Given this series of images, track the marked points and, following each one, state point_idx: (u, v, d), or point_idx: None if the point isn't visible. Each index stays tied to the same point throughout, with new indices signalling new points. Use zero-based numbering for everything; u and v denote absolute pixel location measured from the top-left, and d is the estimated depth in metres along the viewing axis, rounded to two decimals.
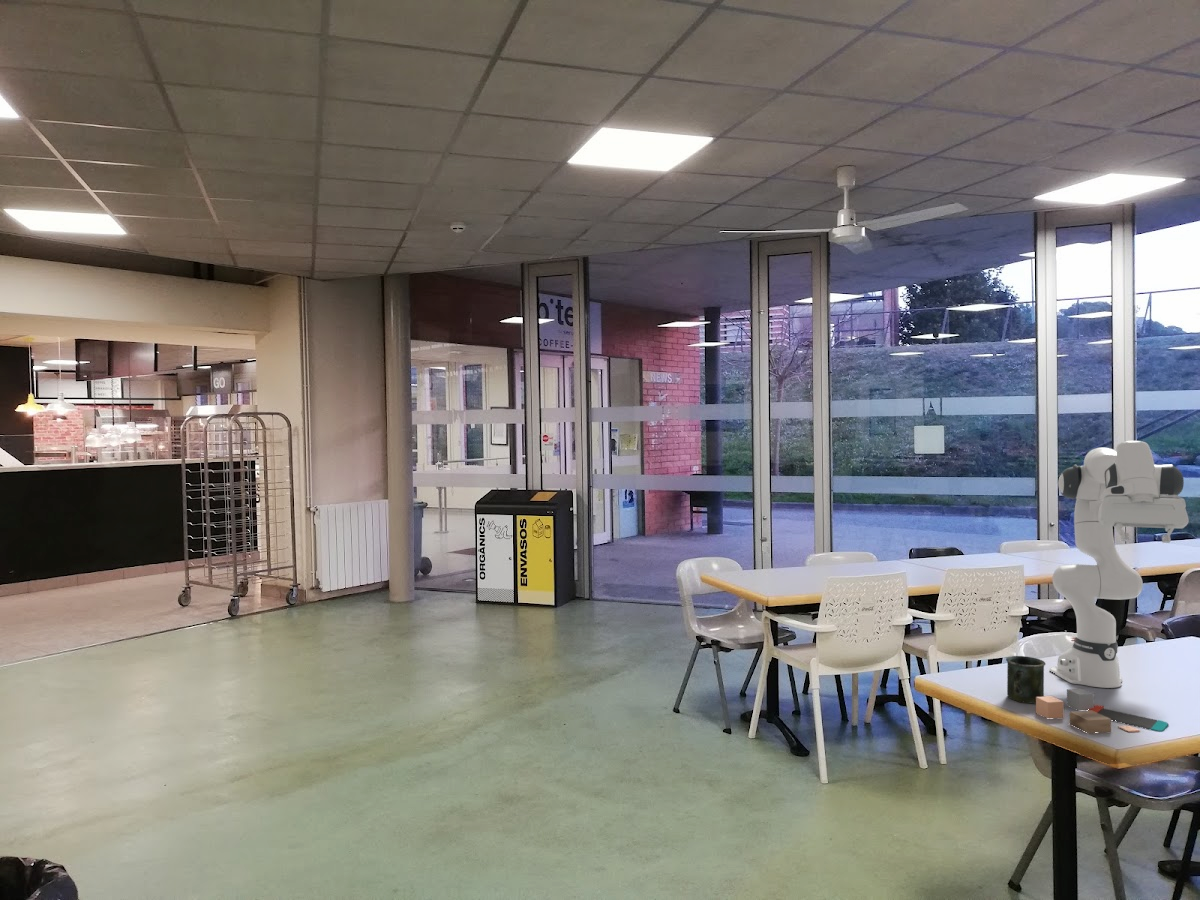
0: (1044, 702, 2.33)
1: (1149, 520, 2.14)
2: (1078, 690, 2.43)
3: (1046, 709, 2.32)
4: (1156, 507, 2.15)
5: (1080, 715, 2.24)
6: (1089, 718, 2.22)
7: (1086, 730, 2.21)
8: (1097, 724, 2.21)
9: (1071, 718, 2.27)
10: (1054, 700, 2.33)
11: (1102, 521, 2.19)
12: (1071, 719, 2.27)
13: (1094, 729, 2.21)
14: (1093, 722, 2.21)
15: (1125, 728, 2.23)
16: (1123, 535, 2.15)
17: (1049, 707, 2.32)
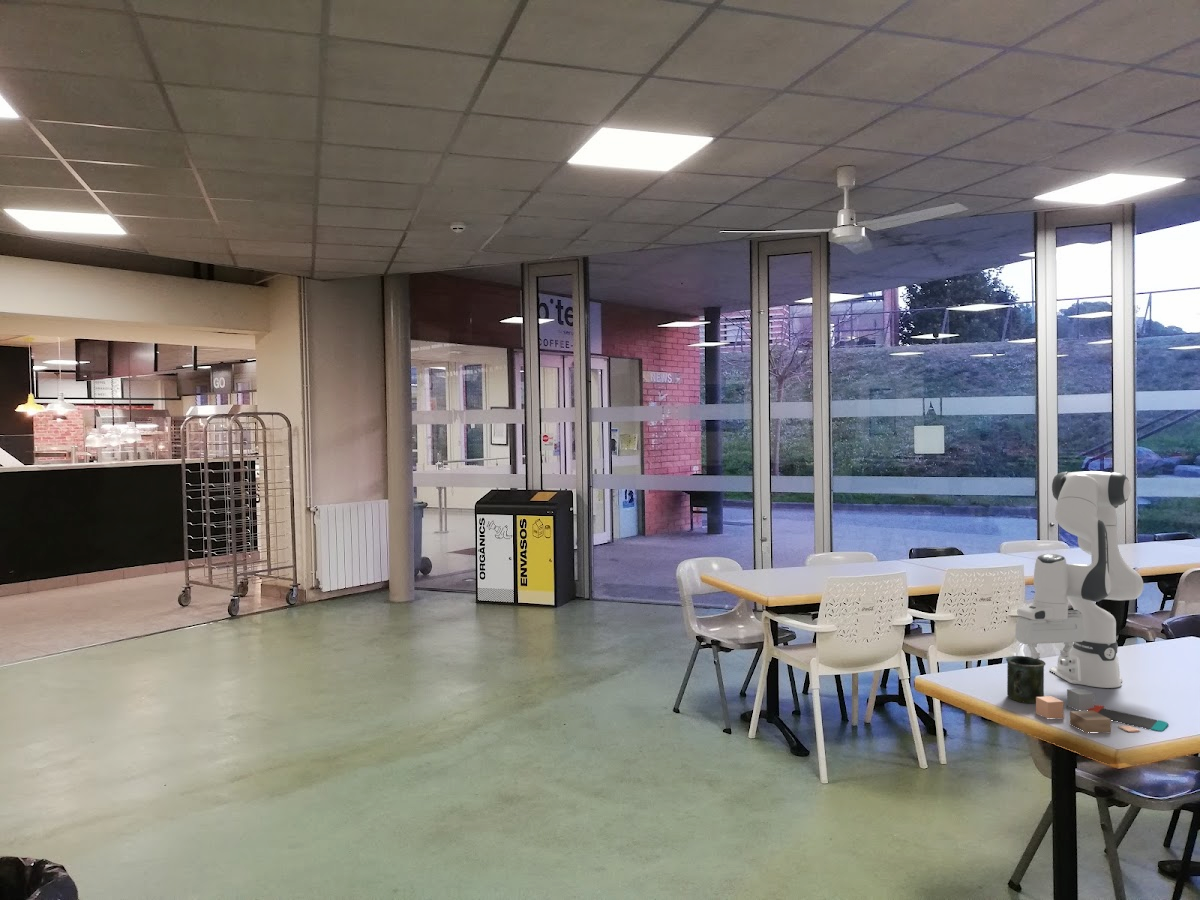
0: (1044, 702, 2.33)
1: (1057, 640, 2.33)
2: (1078, 690, 2.43)
3: (1046, 709, 2.32)
4: (1063, 627, 2.33)
5: (1080, 715, 2.24)
6: (1088, 718, 2.22)
7: (1085, 730, 2.21)
8: (1095, 724, 2.21)
9: (1071, 718, 2.27)
10: (1054, 700, 2.33)
11: (1021, 642, 2.32)
12: (1071, 719, 2.27)
13: (1093, 729, 2.21)
14: (1091, 722, 2.21)
15: (1125, 728, 2.23)
16: (1036, 655, 2.33)
17: (1049, 707, 2.32)
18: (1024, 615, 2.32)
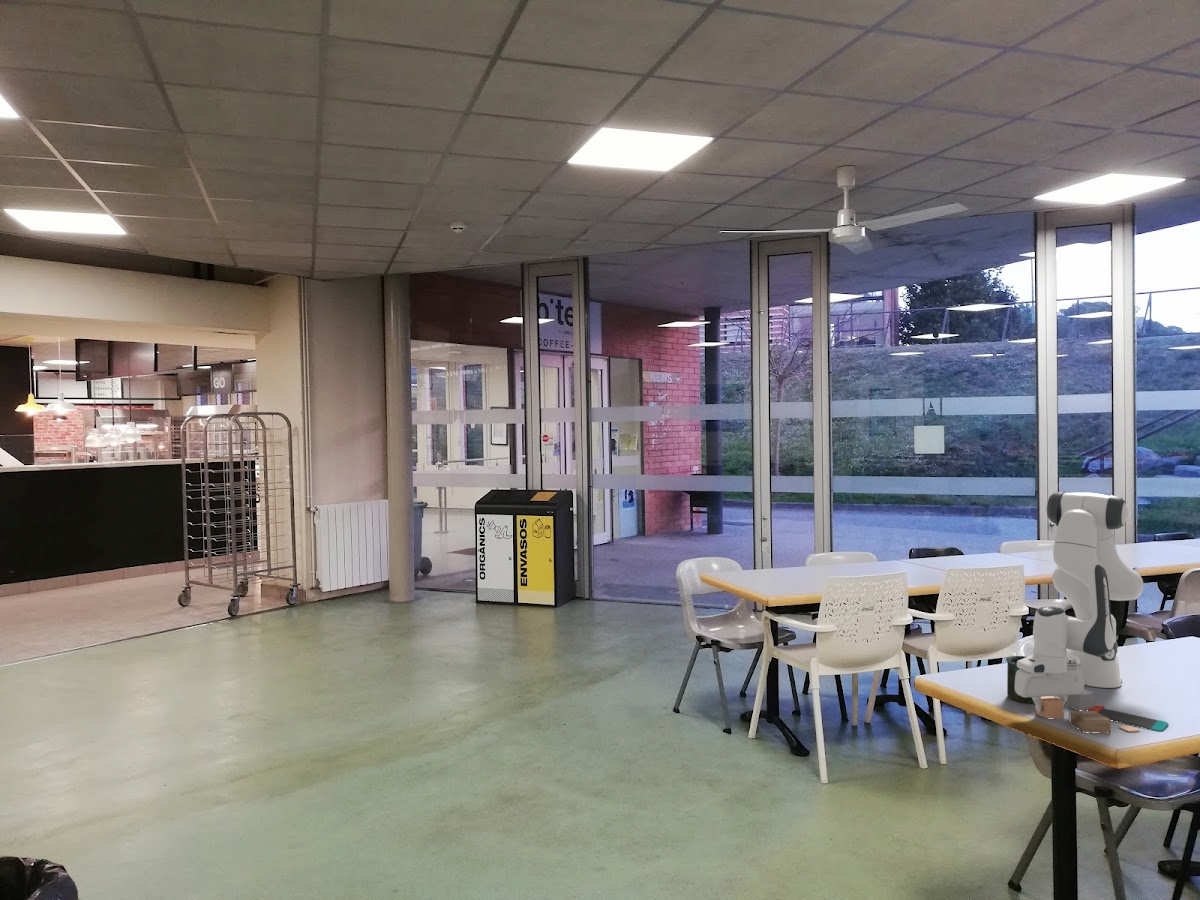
0: (1044, 702, 2.33)
1: (1057, 693, 2.33)
2: None
3: (1046, 709, 2.32)
4: (1062, 680, 2.33)
5: (1079, 714, 2.25)
6: (1087, 718, 2.22)
7: (1083, 729, 2.22)
8: (1094, 724, 2.21)
9: (1071, 717, 2.27)
10: (1054, 700, 2.33)
11: (1021, 695, 2.33)
12: (1071, 718, 2.27)
13: (1092, 729, 2.21)
14: (1090, 721, 2.21)
15: (1125, 728, 2.23)
16: (1040, 708, 2.33)
17: (1050, 706, 2.32)
18: (1023, 668, 2.33)
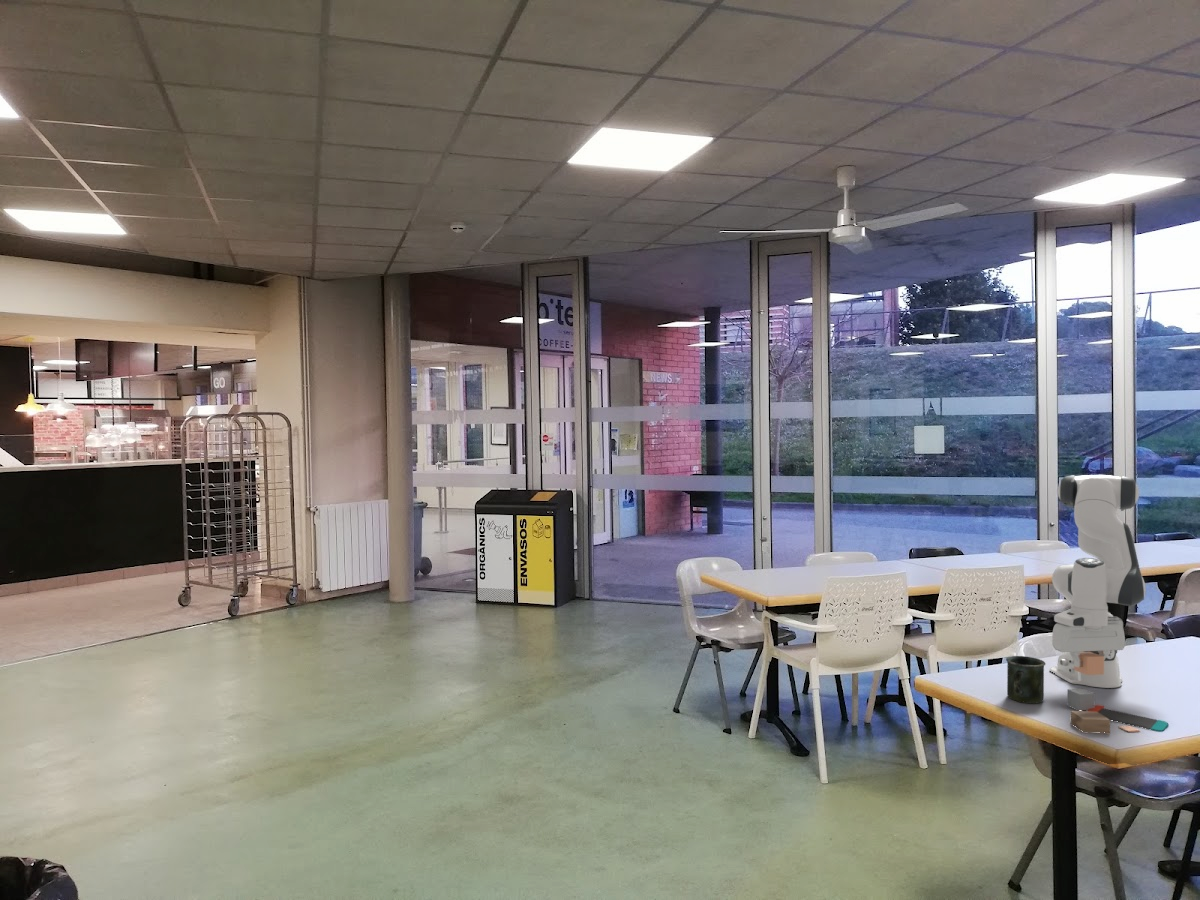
0: (1083, 657, 2.23)
1: (1097, 648, 2.23)
2: (1079, 690, 2.42)
3: (1085, 664, 2.22)
4: (1103, 634, 2.23)
5: (1079, 714, 2.25)
6: (1086, 718, 2.22)
7: (1082, 729, 2.22)
8: (1093, 724, 2.21)
9: (1071, 717, 2.27)
10: (1094, 655, 2.23)
11: (1059, 650, 2.22)
12: (1071, 718, 2.28)
13: (1091, 729, 2.21)
14: (1089, 721, 2.21)
15: (1125, 728, 2.23)
16: (1079, 663, 2.23)
17: (1089, 661, 2.22)
18: (1062, 622, 2.22)
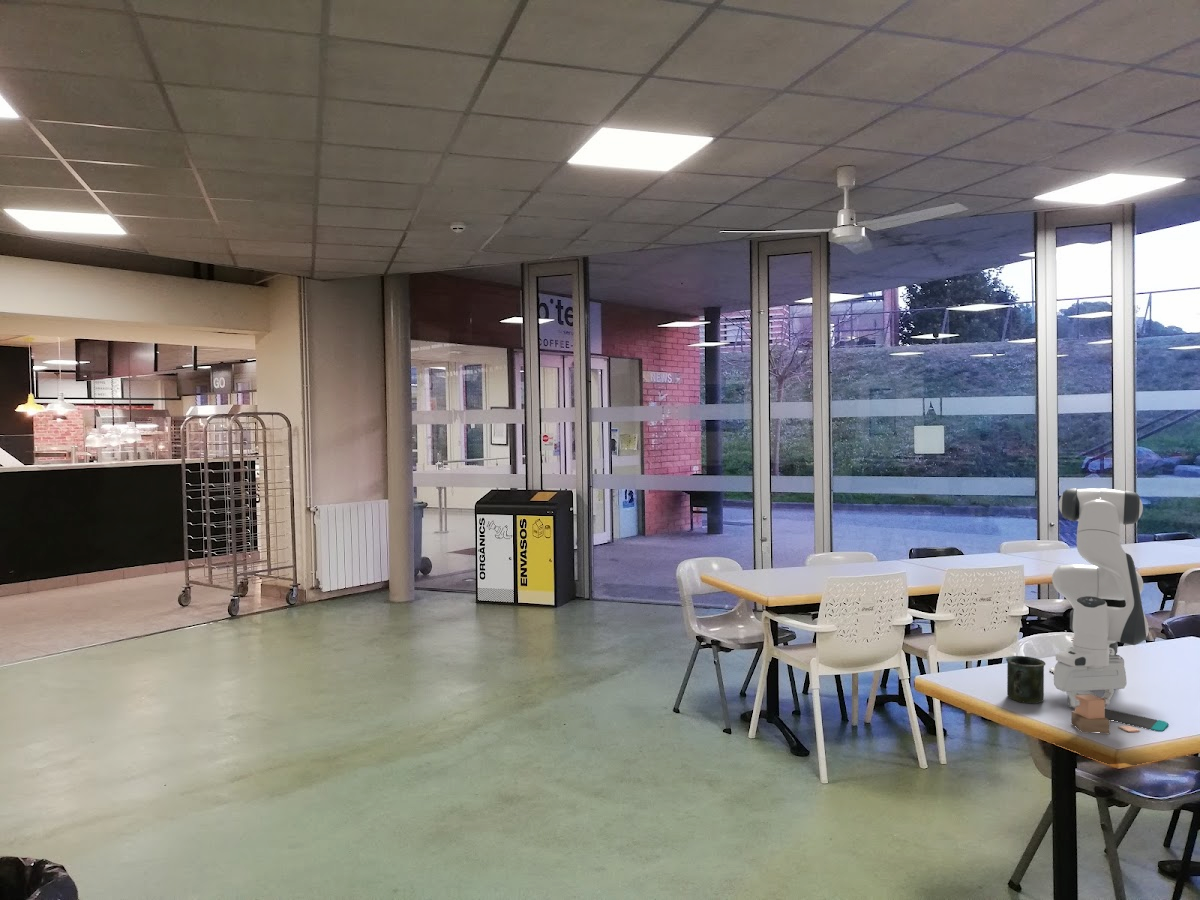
0: (1084, 701, 2.23)
1: (1098, 687, 2.23)
2: None
3: (1086, 708, 2.22)
4: (1104, 673, 2.23)
5: None
6: (1085, 718, 2.22)
7: (1080, 729, 2.22)
8: (1092, 724, 2.21)
9: (1072, 717, 2.28)
10: (1095, 698, 2.23)
11: (1060, 689, 2.22)
12: (1072, 718, 2.28)
13: (1089, 729, 2.21)
14: (1087, 721, 2.21)
15: (1125, 728, 2.23)
16: (1075, 703, 2.23)
17: (1090, 705, 2.22)
18: (1063, 661, 2.22)
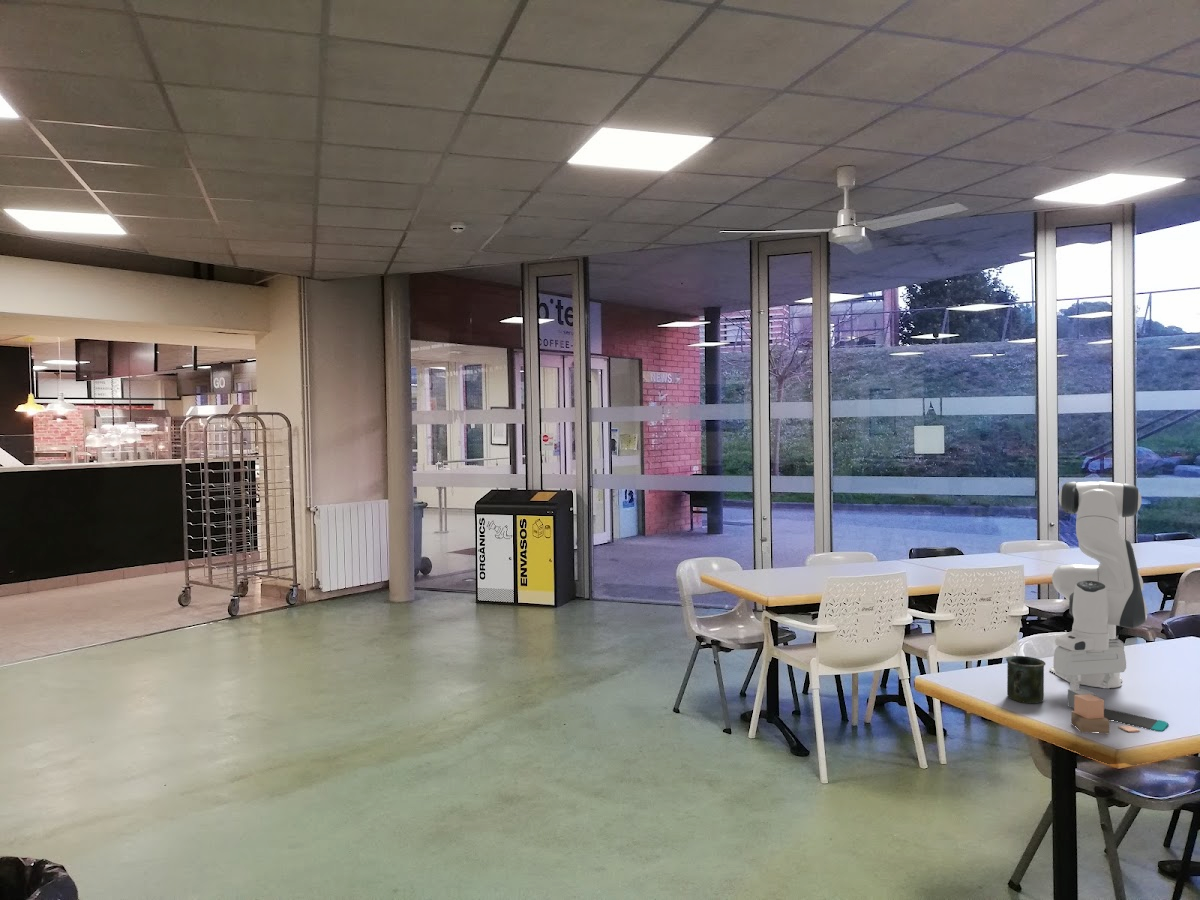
0: (1083, 701, 2.23)
1: (1098, 671, 2.23)
2: (1079, 690, 2.42)
3: (1086, 708, 2.22)
4: (1104, 657, 2.23)
5: None
6: (1085, 718, 2.22)
7: (1080, 729, 2.22)
8: (1092, 724, 2.21)
9: (1072, 717, 2.28)
10: (1094, 698, 2.23)
11: (1060, 674, 2.22)
12: (1071, 718, 2.28)
13: (1089, 729, 2.21)
14: (1087, 721, 2.21)
15: (1125, 728, 2.23)
16: (1075, 687, 2.23)
17: (1089, 705, 2.22)
18: (1063, 646, 2.22)
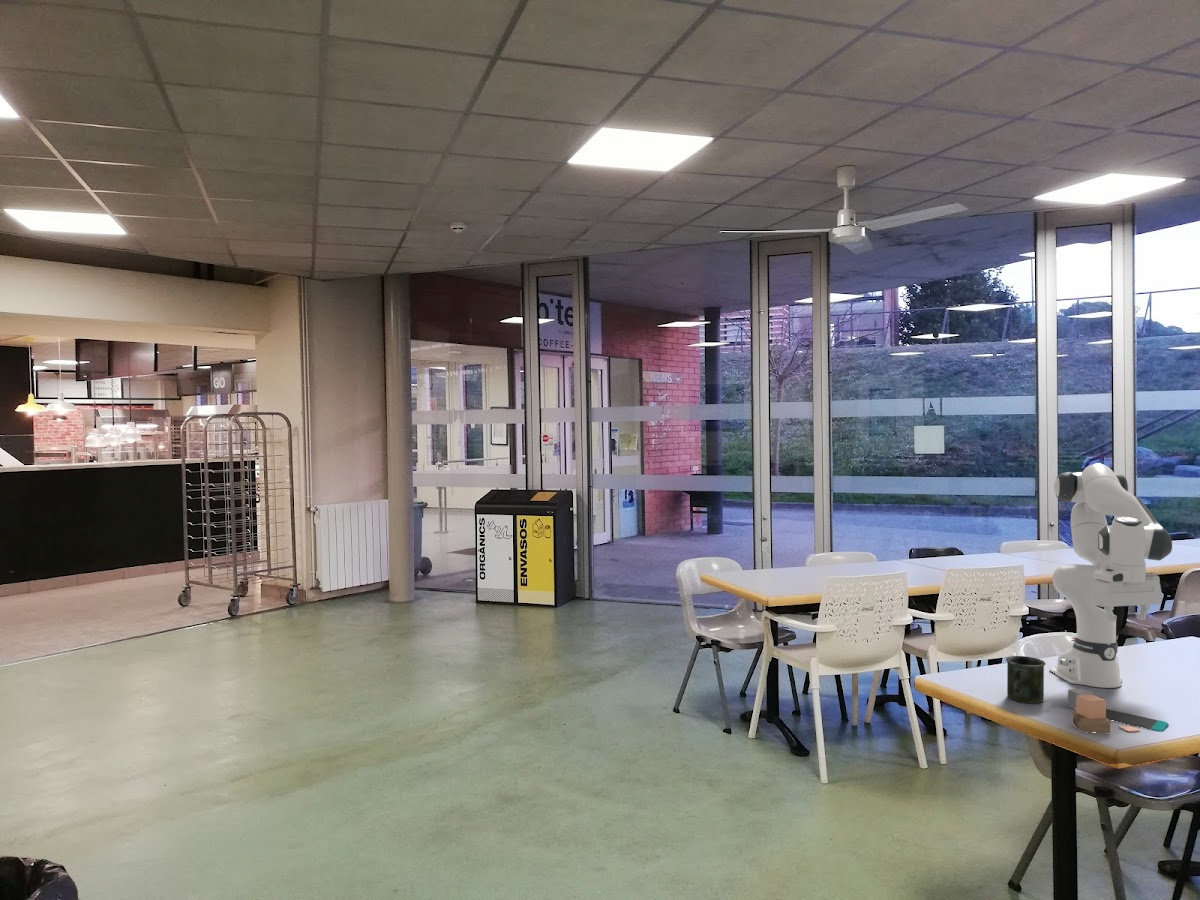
0: (1086, 701, 2.23)
1: (1135, 603, 2.33)
2: (1079, 690, 2.42)
3: (1088, 708, 2.22)
4: (1140, 589, 2.33)
5: None
6: (1086, 718, 2.22)
7: (1081, 729, 2.22)
8: (1093, 724, 2.21)
9: (1073, 717, 2.27)
10: (1096, 699, 2.23)
11: (1098, 605, 2.32)
12: (1072, 718, 2.28)
13: (1090, 729, 2.21)
14: (1088, 721, 2.21)
15: (1125, 728, 2.23)
16: (1113, 618, 2.33)
17: (1091, 705, 2.21)
18: (1101, 578, 2.32)
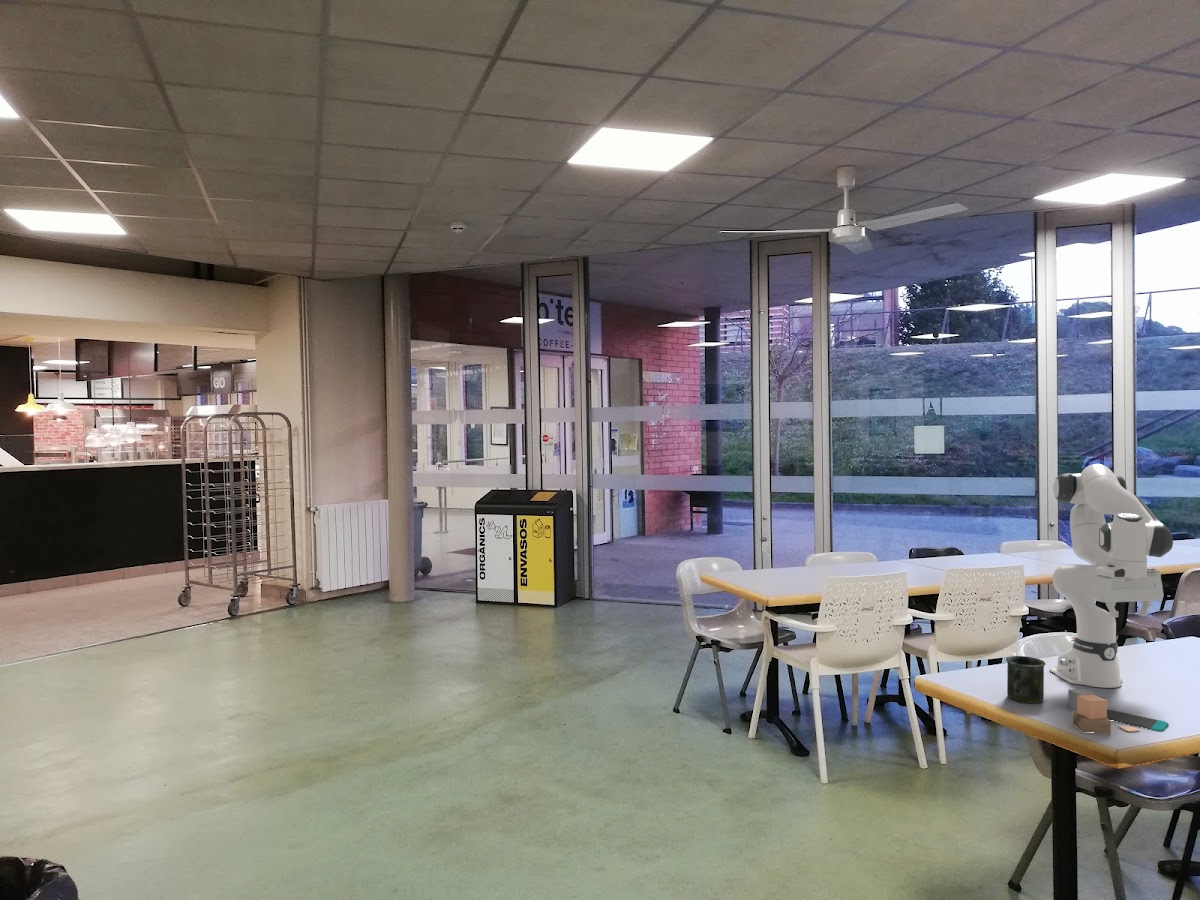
0: (1087, 701, 2.22)
1: (1136, 599, 2.33)
2: (1080, 690, 2.42)
3: (1089, 708, 2.22)
4: (1142, 585, 2.33)
5: (1080, 715, 2.25)
6: (1086, 718, 2.22)
7: (1081, 729, 2.22)
8: (1093, 724, 2.21)
9: (1073, 717, 2.27)
10: (1097, 699, 2.23)
11: (1100, 600, 2.32)
12: (1073, 718, 2.28)
13: (1090, 729, 2.21)
14: (1088, 721, 2.21)
15: (1125, 728, 2.23)
16: (1114, 614, 2.33)
17: (1093, 706, 2.21)
18: (1103, 574, 2.33)
